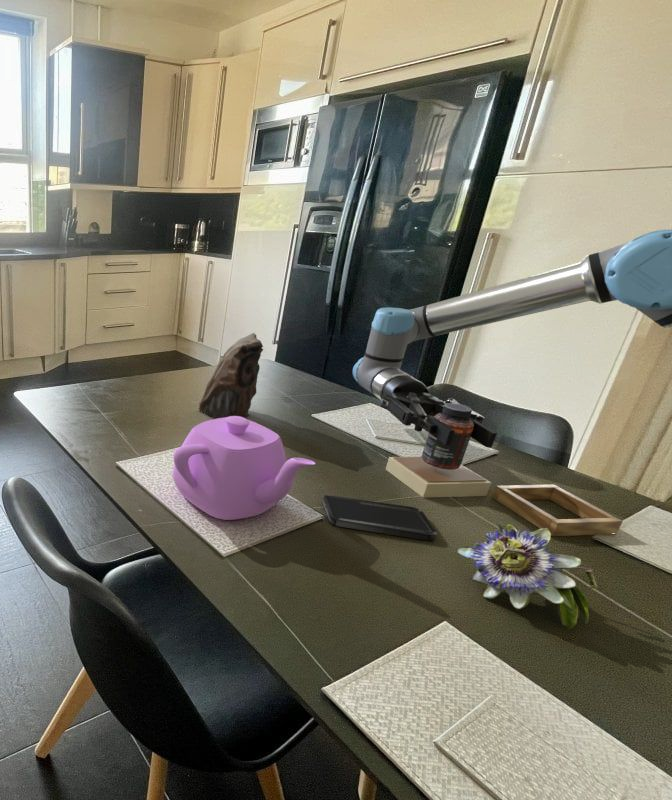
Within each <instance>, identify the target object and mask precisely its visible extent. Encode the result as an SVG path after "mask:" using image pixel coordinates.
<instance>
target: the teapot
mask: <svg viewBox="0 0 672 800" xmlns="http://www.w3.org/2000/svg"><path fill="white" fill-rule="evenodd" d="M172 458H173V463H174V464H173V468H172V469H173V470H172V479H173V482H174V484H175V486H176V488H177V490H178V492H179V493H180V494H181V495H182V496H183V497H184V498H185V499H186V500H187V501H189V502H190V503H191V504H192V505H194V506H195V507H197V508H198V509H199V510H201V511H202V512H204V513H206V514H207V515H208V516H211V517H213V518H216V519H219V520H225V521H226V520H227V521H231V520H232V521H233V520H243V519H247V518H252V517H256V516H259V515H261V514H263V513H265V512H267V511H268V510H270V509H271V508H273V507H274V506H275V505H276V504H278V503H279V502H280V501H281V500H283V499H284V498H285V497H286V496H287V495H289V492H290V491H291V489H292V486H293V484H294V480H295V478H296V475H297V473H298V472H299V471H300V469H301V468H304V467H309V466H314V465H316V462H315V461H313V460H311V459H308V458H305V457H291V458H290V459H287V456H286V452H285V448H284V443H283V442H282V439H281V437H280V435H279V434H278V433H276V432H275V431H273V430H272V429H270V428H268V427H266V426H264V425H262V424H259V423H257V422H255V421H253V420H251V419H248V418H247V419H246V418H243V417H240V416H230V417H225V418H218V419H214V418H212V419H208V420H205V421H203V422H200V423H198V424H196V425H194V426H193V427H192V428H191V430H190V431H189V433H188V435H187V436H186V437H185V439H184V441H183V443H182V444H181V446H179V447H177V448H176V449H175V450H174V453H173V457H172Z"/></svg>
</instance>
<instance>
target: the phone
mask: <svg viewBox="0 0 672 800" xmlns="http://www.w3.org/2000/svg"><path fill="white" fill-rule="evenodd" d="M321 502H322V506H323V508H324V511H325V514H326V517H327V520H328V522H329V523H330V524H331V525H333V526H335V527H341V528H347V529H353V530H358V531H359V530H360V531H364V532H372V533H377V534H384V535H390V536H397V537H403V538H408V539H415V540H420V541H428V542H434V541H435V540H436V537H437V535H438V532H437V530H436V529H435V527H434V526H433V524H432V523H431V522H430V520H429V518H428V517H427V516H426V514H425V513H424V512H423V510H421V509H419V508H417V507H414V506H407V505H401V504H394V503H388V502H381V501H375V500H367V499H362V498H361V499H360V498H353V497H345V496H341V495H340V496H339V495H332V494H325V495H323V497H322V501H321Z"/></svg>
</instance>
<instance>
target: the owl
mask: <svg viewBox="0 0 672 800" xmlns="http://www.w3.org/2000/svg"><path fill="white" fill-rule="evenodd" d="M263 347H264V345H263V344H262V341H261V340H260V339H258V338H257V334H256V333H255V332H251V333H249V334H248V335H246V336H244V337H242V338H240V339H237V341H236V342H234V343H233V344H232V345H231V346H230V347H229V348H228V349H226V351H225V352H224V353H223V355H222V357H221V359H220V360H219V361H218V363H217V364H216V368H215V369H214V371H213V374H212V376H211V378H210V379H209V380H208V382H207V384H206V387H205V391H204V393H203V394H202V395H203V396H202V398H201V400H200V401H199V403H198V405H199V407H198V409H199V410H200V411H202V412H203V413H202V412H201V413H202V414H204V413H205V414H204V415H206V414H207V415H208V416H207V415H206V416H207V417H209V416H210V418H212V417H213V418H212V419H218V418H225V417H230V416H240V417H243V418H246V419H248V417H250V414H249V410H250V409H251V406H252V400H253V398H254V397H255V396H256V394H257V383H258V375H259V371H260V368H261V367H260V364H259V360H260V359H261V355H262V352H263V351H264V348H263ZM200 411H199V412H200Z"/></svg>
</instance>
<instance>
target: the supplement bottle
mask: <svg viewBox="0 0 672 800" xmlns="http://www.w3.org/2000/svg"><path fill="white" fill-rule="evenodd" d="M472 411H473V409H472V408H471V407H469V406H468V405H465V404H461V403H459V404H456V403H446V404H445V405H444V408H443V412H442V413H439V414H437V415H435V416H434V417H435V418H437V419H438V420H440V421H441V422H443V423H444V424H445V425H447V426H448V427H450V428H451V429H453V430H454V431H455V432H454V435H453V438H452V441H451V444H450V445H445V444H443V443H442V442H441V441H439V440H438V439H437V438H435V437H434V436H433V435H431V434H430V433H429V432H428V433H427V437H426V440H425V444H424V447H423V450H422V454H421V457H422V459H423V461H425V462H426V463H427V464H429V465H432V466H434V467H437V468H441V469H448V470H454V469H458V468H459V467H460V465H462V463H463V460H464V457H465V456H466V451H467V448H468V446H469V443H470V439H471V438H472V437H471V434H472V431H473V428H474V423H473V422H472V421H471V420H470V418H469V417H470V416H471V412H472Z"/></svg>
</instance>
